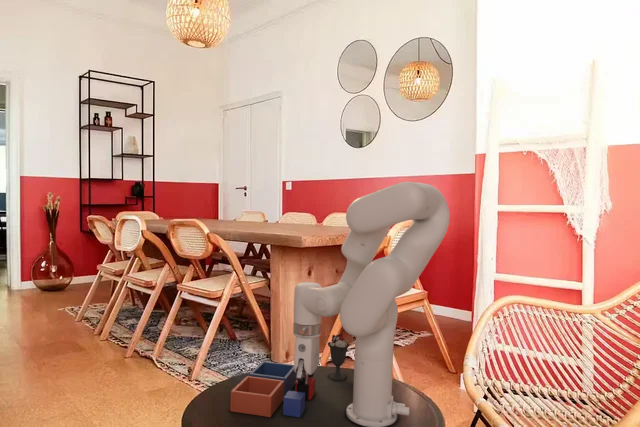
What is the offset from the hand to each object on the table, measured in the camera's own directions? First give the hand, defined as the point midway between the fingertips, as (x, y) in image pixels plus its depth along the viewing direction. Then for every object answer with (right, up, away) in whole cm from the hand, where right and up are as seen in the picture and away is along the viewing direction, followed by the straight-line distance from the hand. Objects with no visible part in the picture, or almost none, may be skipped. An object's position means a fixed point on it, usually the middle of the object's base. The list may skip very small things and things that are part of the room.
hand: (305, 394), depth 128 cm
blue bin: (-9, 0, +5) cm, 10 cm away
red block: (0, 0, 0) cm, 0 cm away
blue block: (-2, -1, -10) cm, 11 cm away
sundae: (+9, 0, +14) cm, 17 cm away
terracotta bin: (-12, 0, -7) cm, 14 cm away
